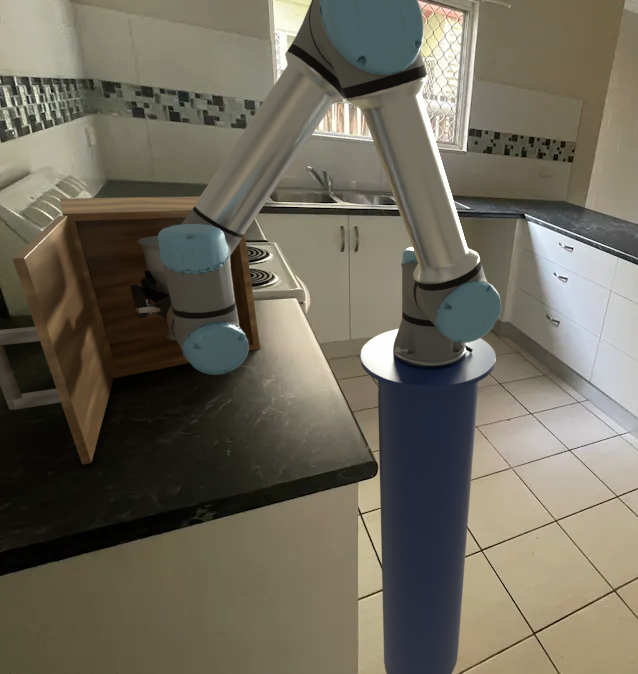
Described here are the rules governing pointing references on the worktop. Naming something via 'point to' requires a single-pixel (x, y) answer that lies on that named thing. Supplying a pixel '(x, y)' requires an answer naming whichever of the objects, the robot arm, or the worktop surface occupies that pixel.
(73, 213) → the cabinet
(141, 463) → the worktop surface
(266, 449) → the worktop surface
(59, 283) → the cabinet door
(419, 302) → the robot arm
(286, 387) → the worktop surface
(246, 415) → the worktop surface
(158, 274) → the chalice
